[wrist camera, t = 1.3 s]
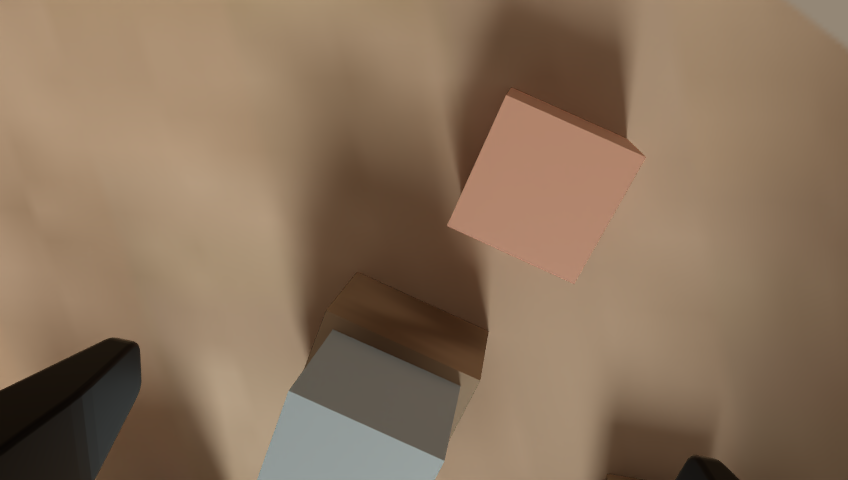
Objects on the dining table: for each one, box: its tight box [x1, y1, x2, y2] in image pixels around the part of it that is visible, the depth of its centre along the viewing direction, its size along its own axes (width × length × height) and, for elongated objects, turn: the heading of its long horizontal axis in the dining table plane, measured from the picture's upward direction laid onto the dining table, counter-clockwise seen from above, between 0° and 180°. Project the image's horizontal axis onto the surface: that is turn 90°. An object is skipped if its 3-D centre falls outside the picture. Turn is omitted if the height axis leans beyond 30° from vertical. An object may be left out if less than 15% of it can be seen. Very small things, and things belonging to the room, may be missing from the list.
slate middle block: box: [257, 330, 461, 480], centre depth 20 cm, size 5×5×4 cm
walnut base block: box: [304, 272, 488, 440], centre depth 23 cm, size 6×6×4 cm
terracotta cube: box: [447, 87, 646, 284], centre depth 20 cm, size 4×4×4 cm
